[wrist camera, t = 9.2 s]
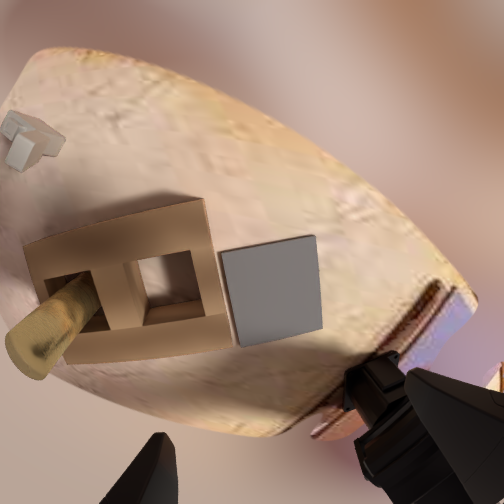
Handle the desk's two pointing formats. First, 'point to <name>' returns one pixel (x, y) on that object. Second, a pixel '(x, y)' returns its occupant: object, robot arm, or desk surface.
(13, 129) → the lighter
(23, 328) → the peg
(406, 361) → the desk surface
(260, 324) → the mat
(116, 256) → the hole block
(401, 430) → the robot arm
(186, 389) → the desk surface
